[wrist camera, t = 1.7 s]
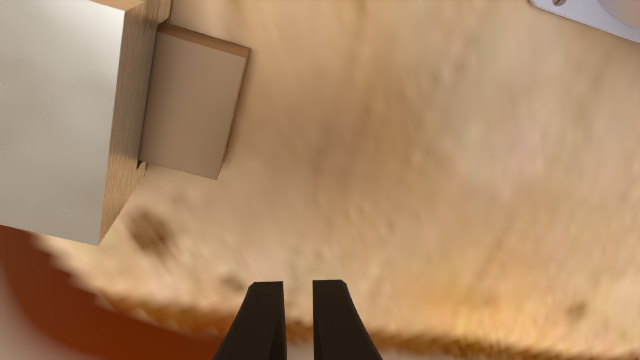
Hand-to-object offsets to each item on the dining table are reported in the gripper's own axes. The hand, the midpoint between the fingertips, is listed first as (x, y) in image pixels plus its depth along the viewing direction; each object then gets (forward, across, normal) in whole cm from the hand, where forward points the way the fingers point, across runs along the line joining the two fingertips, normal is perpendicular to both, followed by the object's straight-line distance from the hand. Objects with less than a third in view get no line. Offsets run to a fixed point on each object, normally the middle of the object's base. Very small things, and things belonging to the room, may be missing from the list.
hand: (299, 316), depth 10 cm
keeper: (+10, +7, -3) cm, 13 cm away
